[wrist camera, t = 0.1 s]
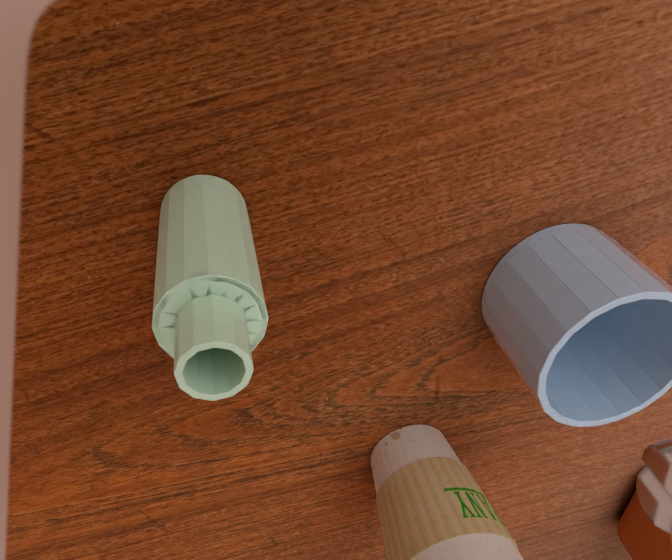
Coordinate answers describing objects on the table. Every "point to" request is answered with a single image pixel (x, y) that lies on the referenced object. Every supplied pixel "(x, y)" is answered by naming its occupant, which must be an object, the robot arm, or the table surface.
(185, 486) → the table surface
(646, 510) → the robot arm
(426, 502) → the coffee cup
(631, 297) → the tumbler
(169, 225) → the bottle
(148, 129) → the table surface
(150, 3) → the table surface
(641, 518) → the alarm clock
